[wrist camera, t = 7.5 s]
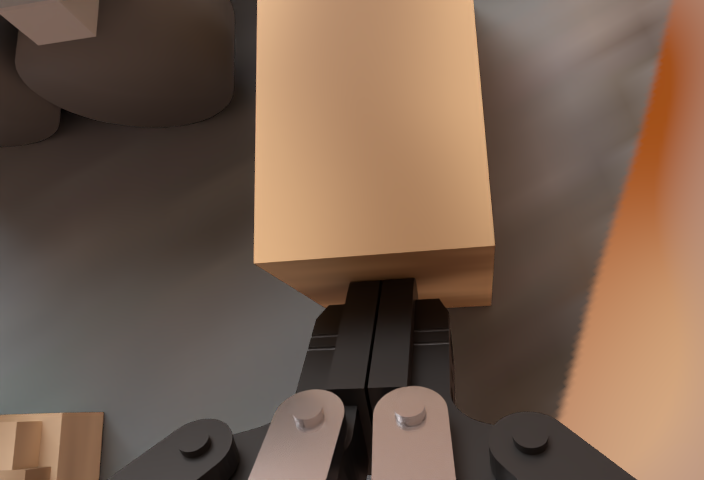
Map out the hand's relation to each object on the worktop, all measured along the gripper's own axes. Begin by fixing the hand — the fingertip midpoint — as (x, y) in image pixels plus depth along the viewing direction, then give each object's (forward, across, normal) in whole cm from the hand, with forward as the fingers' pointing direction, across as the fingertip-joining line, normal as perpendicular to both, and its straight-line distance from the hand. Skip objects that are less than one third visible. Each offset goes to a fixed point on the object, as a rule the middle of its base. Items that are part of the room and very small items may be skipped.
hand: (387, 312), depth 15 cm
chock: (+7, 0, -1) cm, 7 cm away
